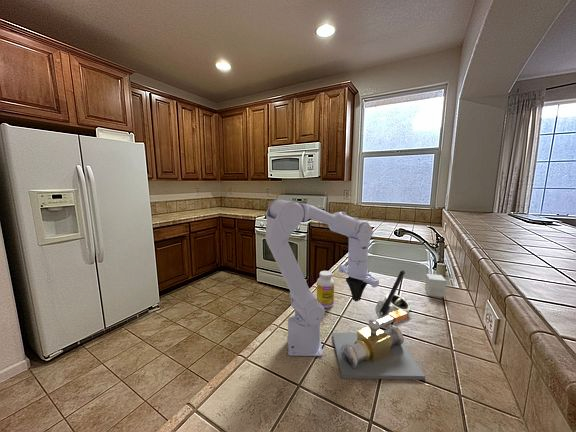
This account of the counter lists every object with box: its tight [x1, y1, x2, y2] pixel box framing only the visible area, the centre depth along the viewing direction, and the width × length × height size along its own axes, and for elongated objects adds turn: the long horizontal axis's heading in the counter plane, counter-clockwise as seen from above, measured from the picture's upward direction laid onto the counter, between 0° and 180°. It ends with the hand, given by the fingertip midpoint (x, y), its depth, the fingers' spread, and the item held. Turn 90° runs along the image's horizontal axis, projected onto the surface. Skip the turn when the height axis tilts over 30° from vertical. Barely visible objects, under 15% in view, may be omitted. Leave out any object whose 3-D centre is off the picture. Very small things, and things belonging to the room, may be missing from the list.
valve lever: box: [367, 309, 408, 331], centre depth 66 cm, size 13×3×2 cm, turn 117°
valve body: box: [341, 324, 405, 369], centre depth 65 cm, size 18×6×8 cm, turn 118°
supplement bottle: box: [316, 270, 335, 309], centre depth 91 cm, size 7×7×13 cm
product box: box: [424, 273, 447, 298], centre depth 99 cm, size 6×6×7 cm
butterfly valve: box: [374, 270, 412, 319], centre depth 82 cm, size 9×20×17 cm
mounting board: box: [332, 332, 426, 381], centre depth 65 cm, size 20×16×1 cm
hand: (356, 299), depth 75 cm, fingers closed
